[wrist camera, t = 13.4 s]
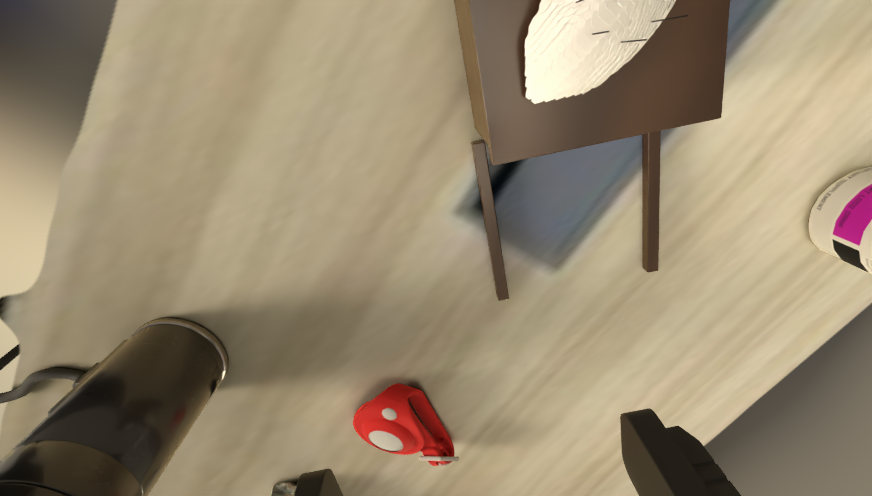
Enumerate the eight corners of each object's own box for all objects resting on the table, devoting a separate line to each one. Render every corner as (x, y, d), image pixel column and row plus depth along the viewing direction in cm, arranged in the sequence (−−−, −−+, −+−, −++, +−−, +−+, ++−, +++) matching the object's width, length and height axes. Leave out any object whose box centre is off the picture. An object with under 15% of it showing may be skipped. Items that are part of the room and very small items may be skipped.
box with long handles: (497, 295, 40) (530, 404, 28) (427, -115, 27) (430, -268, 15) (653, 265, 40) (762, 363, 27) (657, -173, 27) (874, -391, 14)
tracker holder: (348, 451, 47) (347, 402, 41) (363, 416, 50) (364, 366, 44) (452, 484, 45) (468, 438, 39) (460, 446, 49) (475, 398, 43)
